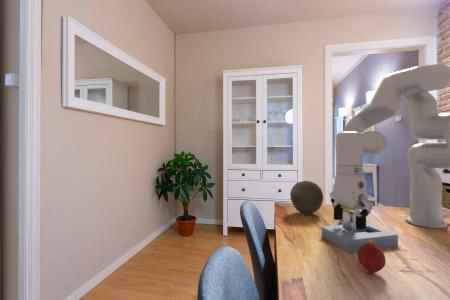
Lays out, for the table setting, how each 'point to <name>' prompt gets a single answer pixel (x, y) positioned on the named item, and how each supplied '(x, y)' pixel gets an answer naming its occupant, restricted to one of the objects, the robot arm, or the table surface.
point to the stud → (348, 221)
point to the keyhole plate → (359, 237)
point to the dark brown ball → (306, 197)
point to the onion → (371, 257)
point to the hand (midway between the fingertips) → (348, 224)
